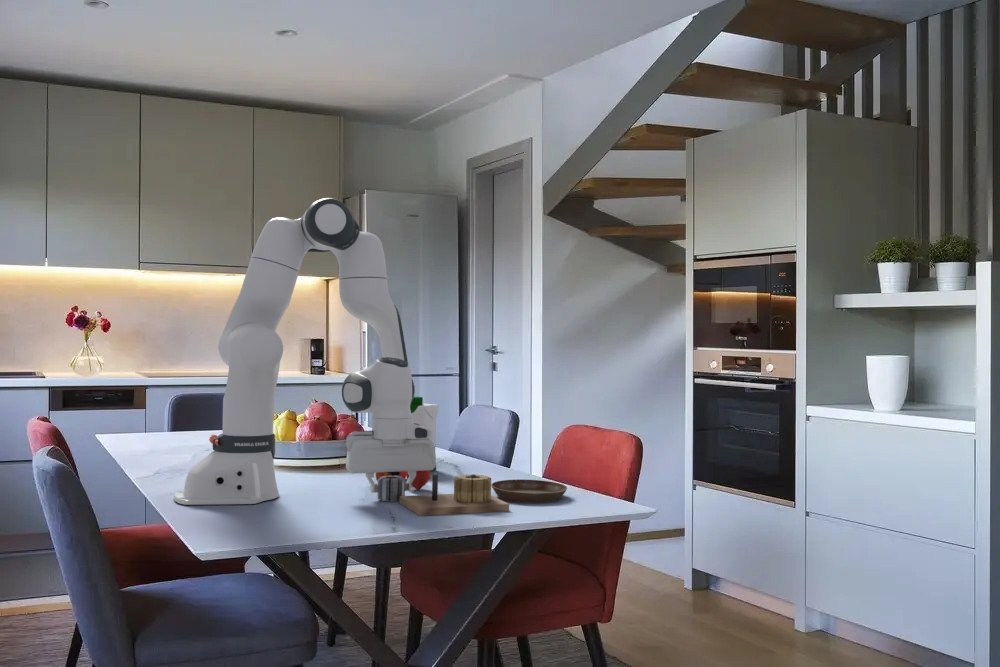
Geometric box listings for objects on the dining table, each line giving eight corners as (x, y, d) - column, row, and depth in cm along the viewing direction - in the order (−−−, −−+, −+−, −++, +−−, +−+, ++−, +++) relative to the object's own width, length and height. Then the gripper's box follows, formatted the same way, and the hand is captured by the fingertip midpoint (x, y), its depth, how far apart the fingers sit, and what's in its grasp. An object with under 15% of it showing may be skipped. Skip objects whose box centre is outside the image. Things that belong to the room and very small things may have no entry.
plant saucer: (582, 499, 224) (583, 486, 224) (529, 508, 212) (530, 494, 212) (528, 489, 237) (528, 476, 237) (475, 497, 225) (475, 484, 225)
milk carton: (395, 470, 260) (396, 396, 260) (415, 467, 268) (417, 395, 267) (421, 474, 255) (422, 398, 255) (441, 470, 263) (443, 396, 263)
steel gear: (381, 502, 213) (381, 480, 213) (374, 498, 219) (374, 475, 219) (407, 501, 215) (408, 479, 215) (400, 496, 221) (401, 475, 221)
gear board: (419, 515, 199) (420, 482, 199) (399, 502, 213) (400, 471, 213) (509, 511, 207) (509, 478, 207) (484, 498, 221) (484, 468, 221)
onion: (426, 492, 228) (427, 458, 228) (402, 491, 229) (403, 457, 229) (432, 488, 233) (433, 455, 233) (410, 487, 235) (410, 454, 234)
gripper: (349, 432, 210) (348, 496, 210) (438, 430, 218) (437, 491, 218) (343, 429, 216) (341, 491, 216) (430, 427, 224) (429, 487, 224)
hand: (390, 491), depth 217 cm, fingers closed on steel gear, 6 cm apart
